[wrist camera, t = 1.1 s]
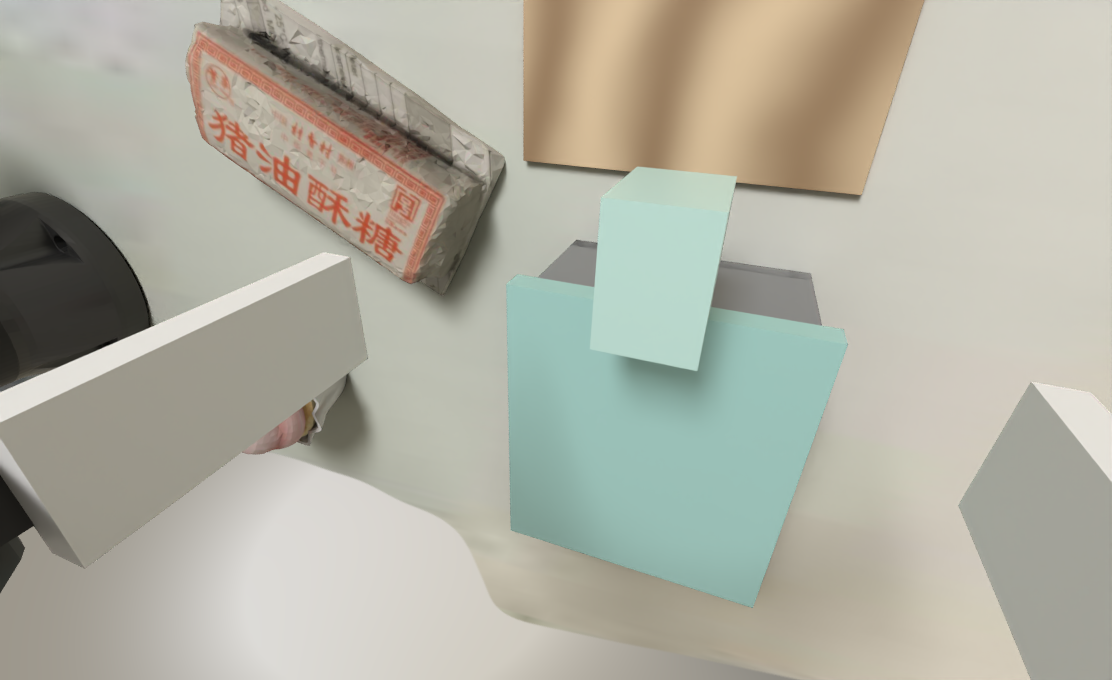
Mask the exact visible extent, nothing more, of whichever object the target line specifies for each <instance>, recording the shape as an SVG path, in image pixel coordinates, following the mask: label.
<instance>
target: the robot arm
mask: <svg viewBox="0 0 1112 680" xmlns="http://www.w3.org/2000/svg"><path fill="white" fill-rule="evenodd" d="M366 359H368V355H367V350H366V344H365V338H364V333H363V327H362V321H361V315H360V310H359V304H358V298H357V293H356V287H355V281H354V276H353V270H352V264H351V258H350V257H347V256H341V255H336V254H330V253H325V252H323V253H321V254H319V255H316V256H314V257H312V258H309V259H307V260H305V261H302V262H300V263H298V264H295V265H293V266H291V267H289V268H286V269H284V270H282V271H279V272H277V273H275V274H272V275H270V276H268V277H265V278H263V279H261V280H259V281H256V282H254V283H252V284H249V285H247V286H245V287H242V288H240V289H238V290H235V291H233V292H231V293H229V294H226V295H224V296H222V297H219V298H217V299H215V300H212V301H210V302H208V303H205V304H203V305H201V306H199V307H196V308H194V309H192V310H189V311H187V312H185V313H182V314H180V315H178V316H176V317H173V318H171V319H169V320H166V321H164V322H162V323H159V324H157V325H155V326H152V327H150V328H149V320H148V313H147V308H146V305H145V301H144V298H143V295H142V293H141V290H140V288H139V286H138V284H137V282H136V279H135V278H134V276H133V274H132V272H131V270H130V269H129V267H128V265H127V264H126V262H125V261H124V259H123V258H122V256H121V255H120V253H119V252H118V251H117V249H116V248H115V247H114V245H113V244H112V243H111V242H110V240H109V239H108V238H107V237H106V236H105V235H104V234H103V233H102V232H101V230H100V229H99V228H98V227H97V226H96V225H95V224H94V223H92V222H91V221H90V220H89V219H88V218H87V217H86V216H85V215H83V214H82V213H81V212H79V211H78V210H77V209H75V208H74V207H73V206H71V205H69V204H68V203H66V202H64V201H63V200H61V199H59V198H57V197H54V196H52V195H49V194H45V193H39V192H32V193H26V194H21V195H15V196H10V197H4V198H1V199H0V387H2V386H4V385H7V384H9V383H11V382H14V381H16V380H19V379H21V378H24V377H27V376H31V375H37V374H42V375H39V376H37V377H35V378H32V379H30V380H28V381H26V382H23V383H21V384H19V385H16V386H14V387H12V388H9V389H7V390H5V391H2V392H0V593H1V591H2V589H3V588H4V586H5V584H6V583H7V581H8V580H9V578H10V576H11V575H12V573H13V571H14V570H15V568H16V567H17V565H18V563H19V562H20V560H21V558H22V555H23V552H24V549H25V547H24V546H23V544H22V542H21V540H20V539H19V537H18V535H20V534H21V533H23V532H25V531H26V530H28V529H29V528H31V527H33V526H34V527H35V528H36V530H37V531H38V533H39V534H40V536H41V537H42V538H43V540H44V542H45V543H46V545H47V546H48V547H49V549H50V550H51V552H52V553H54V554H56V555H58V556H60V557H62V558H64V559H66V560H68V561H70V562H72V563H74V564H76V565H78V566H80V567H83V568H87V567H88V566H89V565H91V564H92V563H93V562H95V561H96V560H98V559H99V558H100V557H102V556H103V555H104V554H106V553H107V552H108V551H110V550H111V549H112V548H114V547H115V546H116V545H118V544H119V543H120V542H122V541H123V540H124V539H126V538H127V537H128V536H130V535H131V534H132V533H134V532H135V531H137V530H138V529H139V528H141V527H142V526H143V525H145V524H146V523H147V522H149V521H150V520H151V519H153V518H154V517H155V516H157V515H158V514H159V513H161V512H162V511H163V510H165V509H166V508H167V507H169V506H170V505H171V504H173V503H174V502H175V501H177V500H178V499H180V498H181V497H182V496H184V495H185V494H186V493H188V492H189V491H190V490H192V489H193V488H194V487H196V486H197V485H198V484H200V483H201V482H202V481H204V480H205V479H206V478H208V477H209V476H210V475H212V474H213V473H215V472H216V471H217V470H219V469H220V468H221V467H223V466H224V465H225V464H227V463H228V462H229V461H231V460H232V459H233V458H235V457H236V456H237V455H239V454H240V453H241V452H243V451H244V450H245V449H247V448H248V447H249V446H251V445H252V444H254V443H255V442H256V441H258V440H259V439H260V438H262V437H263V436H264V435H266V434H267V433H268V432H270V431H271V430H272V429H274V428H275V427H276V426H278V425H279V424H280V423H282V422H283V421H284V420H286V419H287V418H288V417H290V416H291V415H293V414H294V413H295V412H297V411H298V410H299V409H301V408H302V407H303V406H305V405H306V404H307V403H309V402H310V401H311V400H313V399H314V398H315V397H317V396H318V395H319V394H321V393H322V392H323V391H325V390H326V389H327V388H329V387H330V386H332V385H333V384H334V383H336V382H337V381H338V380H340V379H341V378H342V377H344V376H345V375H346V374H348V373H349V372H350V371H352V370H353V369H354V368H356V367H357V366H358V365H360V364H361V363H362V362H364V361H365V360H366ZM43 373H44V374H43ZM958 506H959V508H960V510H961V513H962V515H963V518H964V520H965V522H966V525H967V527H968V530H969V532H970V534H971V537H972V539H973V542H974V544H975V546H976V549H977V551H978V554H979V556H980V558H981V561H982V563H983V566H984V568H985V570H986V573H987V575H988V578H989V580H990V582H991V585H992V587H993V590H994V592H995V594H996V597H997V599H998V602H999V604H1000V606H1001V609H1002V611H1003V614H1004V616H1005V619H1006V621H1007V623H1008V626H1009V628H1010V631H1011V633H1012V635H1013V638H1014V640H1015V643H1016V645H1017V647H1018V650H1019V652H1020V655H1021V657H1022V659H1023V662H1024V664H1025V667H1026V669H1027V671H1028V674H1029V676H1030V679H1031V680H1112V414H1111V413H1110V412H1109V411H1108V410H1107V409H1106V408H1105V407H1104V406H1103V404H1102V403H1101V402H1100V401H1099V400H1098V399H1097V398H1096V397H1095V396H1094V395H1093V394H1092V393H1091V392H1086V391H1080V390H1075V389H1069V388H1064V387H1058V386H1053V385H1047V384H1042V383H1037V382H1031V383H1030V384H1029V386H1028V388H1027V389H1026V391H1025V393H1024V395H1023V396H1022V398H1021V400H1020V401H1019V403H1018V405H1017V406H1016V408H1015V410H1014V412H1013V413H1012V415H1011V417H1010V418H1009V420H1008V422H1007V423H1006V425H1005V427H1004V428H1003V430H1002V432H1001V434H1000V435H999V437H998V439H997V440H996V442H995V444H994V445H993V447H992V449H991V451H990V452H989V454H988V456H987V457H986V459H985V461H984V462H983V464H982V466H981V468H980V469H979V471H978V473H977V474H976V476H975V478H974V479H973V481H972V483H971V484H970V486H969V488H968V490H967V491H966V493H965V495H964V496H963V498H962V500H961V501H960V503H959V505H958Z"/></svg>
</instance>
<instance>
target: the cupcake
mask: <svg viewBox="0 0 1112 680" xmlns="http://www.w3.org/2000/svg"><path fill="white" fill-rule="evenodd" d="M345 383H346V375H345V376H344V377H342V378H341V379H340V380H338V381H337V382H336V383H334V384H333V385H332V386H330V387H329V388H327V389H326V390H325V391H323V392H322V393H321V394H319V395H318V396H317V397H315V398H314V399H313V400H311V401H310V402H309V403H307V404H306V405H305V406H303V407H302V408H301V409H299V410H298V411H297V412H295V413H294V414H293V415H291V416H290V417H288V418H287V419H286V420H284V421H283V422H282V423H280V424H279V425H278V426H276V427H275V428H274V429H272V430H271V431H270V432H268V433H267V434H266V435H264V436H263V437H262V438H260V439H259V440H258V441H256V442H255V443H254V444H252V445H251V446H249V447H248V448H247V449H245V450H244V451H243V452H242V453H246V454H264V453H266V452H268V451H271V450H274V449H282V448H286V447H289V446H291V445H293V444H294V443H296V442H299V443H301V444H304V445H308V446H310V443H311V441H312V439H313V436H314V434H315V433H316V432H320V431H321V430H322V427H323V424H324V421H325V418H326V414H327V412H328V410H329V409H330V408H331V407H332V405H333V404H334V403H335V402H336V400H337V399H338V397H339V396H340V395H341V393H342V392H343V389H344V387H345Z"/></svg>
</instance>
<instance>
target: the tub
mask: <svg viewBox="0 0 1112 680" xmlns="http://www.w3.org/2000/svg"><path fill="white" fill-rule="evenodd" d="M597 245H598V243H594V242H587V241H580V240H576V241H575V242H574V243H573V244H572V245H571V246H570V247H569V248H568V249H567V250H566V251H565V252H564V253H562V254H561V255H560V256H559V257H558V258H557V259H556V260H555V261H554V262H553V263H552V264H551V265H550V266H549V267H548V268H547V269H546V270H545V271H544V272H543V273H542V274H541V275H540V276H539V277H538V278H543V279H549V280H555V281H561V282H566V283H572V284H578V285H584V286H590V287H594V286H595V272H596V259H597ZM711 307H714V308H720V309H726V310H732V311H738V312H744V313H750V314H756V315H762V316H768V317H773V318H779V319H785V320H791V321H797V322H803V323H809V324H815V325H821V326H822V324H821V319H820V314H819V310H818V305H817V300H816V296H815V291H814V286H813V282H812V277H811V274H810V273H803V272H796V271H789V270H782V269H775V268H768V267H761V266H754V265H747V264H740V263H733V262H726V261H720V264H719V269H718V274H717V279H716V284H715V289H714V294H713V299H712V304H711Z"/></svg>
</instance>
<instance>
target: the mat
mask: <svg viewBox="0 0 1112 680" xmlns="http://www.w3.org/2000/svg"><path fill="white" fill-rule="evenodd" d="M923 3H924V0H524V161H532V162H542V163H552V164H562V165H571V166H581V167H591V168H601V169H611V170H621V171H630V172H631V171H632V170H634V169H635V168H636V167H647V168H658V169H668V170H678V171H688V172H698V173H708V174H718V175H729V176H737V179H736V182H739V183H748V184H758V185H768V186H778V187H788V188H797V189H807V190H817V191H827V192H837V193H847V194H856V195H862V192H863V189H864V185H865V182H866V179H867V176H868V173H869V170H870V167H871V164H872V161H873V158H874V154H875V151H876V148H877V145H878V142H879V139H880V136H881V133H882V130H883V127H884V123H885V120H886V117H887V114H888V111H889V108H890V105H891V102H892V99H893V96H894V92H895V89H896V86H897V83H898V80H899V77H900V74H901V71H902V68H903V65H904V61H905V58H906V55H907V52H908V49H909V46H910V43H911V40H912V37H913V34H914V30H915V27H916V24H917V21H918V18H919V15H920V12H921V9H922V6H923Z"/></svg>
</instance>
